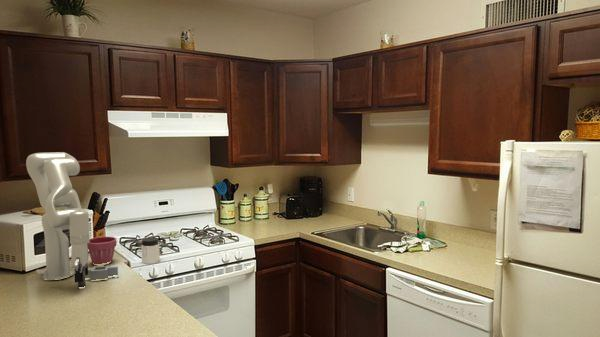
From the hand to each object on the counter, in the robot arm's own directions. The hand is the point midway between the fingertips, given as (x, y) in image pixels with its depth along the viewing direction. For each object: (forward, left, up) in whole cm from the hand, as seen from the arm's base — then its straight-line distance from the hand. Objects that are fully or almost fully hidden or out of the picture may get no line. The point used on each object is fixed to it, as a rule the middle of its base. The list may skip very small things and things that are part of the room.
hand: (81, 278), depth 181 cm
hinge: (+5, +11, -4) cm, 13 cm away
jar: (+26, +33, -5) cm, 42 cm away
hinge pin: (0, 0, -4) cm, 4 cm away
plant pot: (+2, +36, -5) cm, 37 cm away
